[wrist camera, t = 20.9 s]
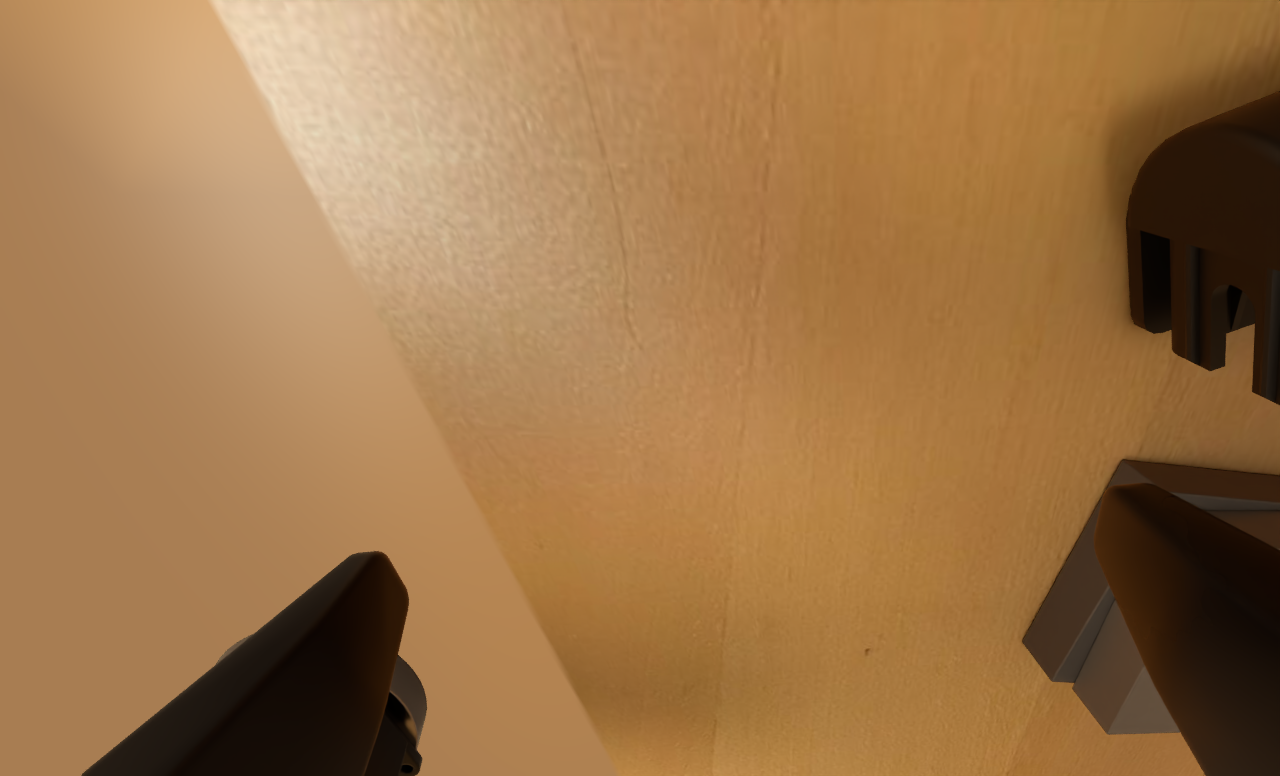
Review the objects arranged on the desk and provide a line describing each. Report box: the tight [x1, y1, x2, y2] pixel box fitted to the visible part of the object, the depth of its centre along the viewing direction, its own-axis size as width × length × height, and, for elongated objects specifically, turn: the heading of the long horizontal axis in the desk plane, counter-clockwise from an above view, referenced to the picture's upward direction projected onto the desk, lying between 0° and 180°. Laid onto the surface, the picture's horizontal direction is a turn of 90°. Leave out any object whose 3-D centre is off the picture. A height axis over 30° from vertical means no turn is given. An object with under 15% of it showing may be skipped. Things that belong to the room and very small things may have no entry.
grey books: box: [1022, 460, 1280, 735], centre depth 24 cm, size 12×10×4 cm
